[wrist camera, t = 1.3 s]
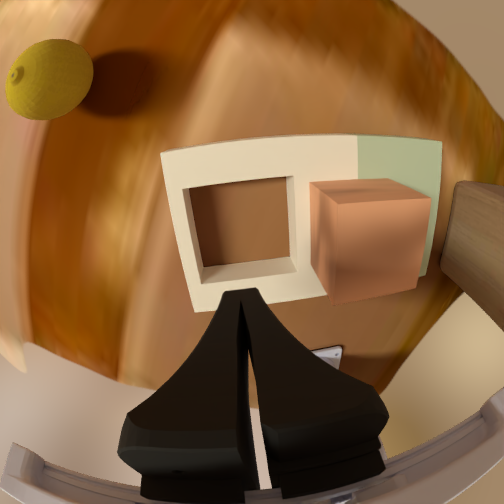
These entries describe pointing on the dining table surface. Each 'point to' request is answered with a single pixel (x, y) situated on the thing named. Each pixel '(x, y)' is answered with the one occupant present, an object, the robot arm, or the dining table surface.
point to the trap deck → (297, 178)
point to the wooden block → (477, 245)
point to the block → (366, 237)
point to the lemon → (49, 79)
